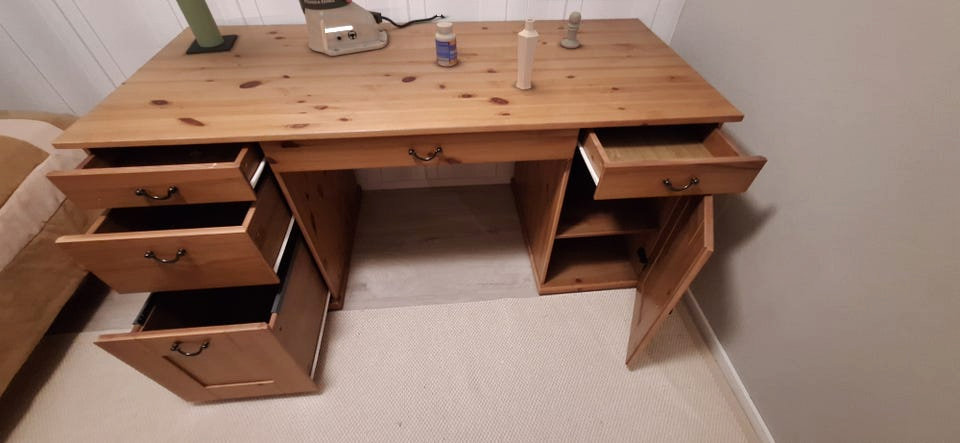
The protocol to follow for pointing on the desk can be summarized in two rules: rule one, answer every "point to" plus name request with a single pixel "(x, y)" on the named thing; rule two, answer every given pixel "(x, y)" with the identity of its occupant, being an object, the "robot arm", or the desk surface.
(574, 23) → the chess piece
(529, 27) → the perfume bottle
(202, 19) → the bottle
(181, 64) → the desk surface
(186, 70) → the desk surface
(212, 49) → the coaster
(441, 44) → the pill bottle
